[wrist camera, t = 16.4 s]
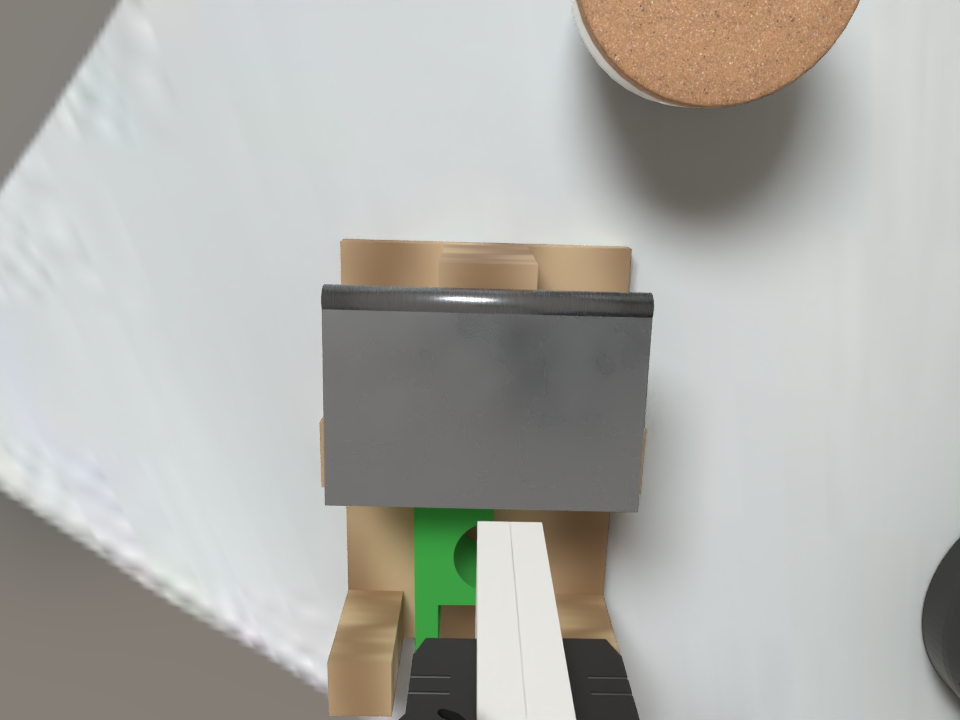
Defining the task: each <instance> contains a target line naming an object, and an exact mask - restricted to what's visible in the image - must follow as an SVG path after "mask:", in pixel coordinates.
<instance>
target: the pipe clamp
mask: <svg viewBox="0 0 960 720" xmlns="http://www.w3.org/2000/svg"><path fill="white" fill-rule="evenodd" d="M493 515H494V509H470V508H425V507H414V581H415V652H416V650H417V649H418V648H419V646H420V645H421V644H422V642H423V641H424V640H425V638H439V634H440V620H441V606H442V605H476V569H477V542H475V541H473V540H471V539H469V538H468V537H467V536H466V535H465V534H464V533H465V532H466V531H468V530H469V529H471V528H472V527H474V526H476V525H477V523H478V521H492V522H493Z"/></svg>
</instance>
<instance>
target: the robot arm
mask: <svg viewBox="0 0 960 720" xmlns="http://www.w3.org/2000/svg"><path fill="white" fill-rule="evenodd" d="M923 636H924V641H925V646H926V649H927V652H928V655H929V658H930V660H931V662H932V664H933V666H934V668H935V669H936V671H937V672H938V674H939V675H940V676H941V678H942V679H943V680H944V681H945V682H946V683H947V685H948V686H949V687H950V688H951V689H952V690H953V691H954V692H955V694H956V695H957V696H958V697H959V698H960V539H959V540H958V541H957V542H956V543H955V544H954V546H953V547H952V548H951V549H950V550H949V552H948V553H947V555H946V556H945V557H944V559H943V560H942V562H941V564H940V565H939V567H938V569H937V571H936V573H935V575H934V577H933V579H932V581H931V584H930V587H929V589H928V592H927V596H926V600H925V605H924V610H923ZM399 720H639V716H638V713H637V709H636V706H635V702H634V699H633V696H632V692H631V688H630V685H629V681H628V680H627V674H626V671H625V667H624V664H623V660H622V657H621V655H620V654H619V653H618V652H617V651H616V650H615V649H614V647H613V646H612V645H611V644H610V643H609V642H608V641H607V640H606V639H583V638H562V635H561V630H560V624H559V618H558V612H557V607H556V601H555V595H554V589H553V584H552V578H551V572H550V566H549V560H548V555H547V549H546V543H545V537H544V532H543V526H542V522H492V521H478V523H477V569H476V615H475V639H469V638H425V640H424V641H423V642H422V644H421V645H420V646H419V648H418V649H417V650H416V652H415V653H414V654H413V660H412V667H411V677H410V683H409V691H408V698H407V706H406V713H405V714H404V715H403V716H402V717H401V718H400V719H399Z"/></svg>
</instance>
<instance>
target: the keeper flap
mask: <svg viewBox="0 0 960 720" xmlns="http://www.w3.org/2000/svg"><path fill="white" fill-rule="evenodd" d="M321 306H322V345H323V409H324V473H325V505H336V506H381V507H425V508H470V509H514V510H558V511H603V512H638V504H639V491H640V478H641V464H642V451H643V437H644V424H645V410H646V397H647V384H648V370H649V357H650V343H651V330H652V318H653V311H654V300H653V295H652V293H636V292H598V291H560V290H522V289H484V288H446V287H409V286H371V285H333V284H324V285H323V288H322V295H321Z"/></svg>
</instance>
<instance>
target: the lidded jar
mask: <svg viewBox="0 0 960 720" xmlns="http://www.w3.org/2000/svg"><path fill="white" fill-rule="evenodd" d="M859 1H860V0H571V7H572V12H573V15H574V18H575V22H576V25H577V28H578V31H579V33H580V35H581V37H582V39H583V41H584V43H585V45H586V47H587V49H588V51H589V52H590V53H591V55H592V56H593V58H594V59H595V61H596V62H597V63H598V65H599V66H600V67H601V68H602V69H603V70H604V71H605V72H606V73H607V74H608V75H609V76H610V77H611V78H612V79H613V80H615V81H616V82H617V83H619V84H620V85H621V86H623V87H624V88H625V89H627V90H629V91H631V92H633V93H635V94H637V95H639V96H641V97H643V98H645V99H648V100H651V101H654V102H658V103H661V104H664V105H669V106H677V107H685V108H688V107H692V108H700V109H704V108H725V107H730V106H735V105H739V104H744V103H749V102H752V101H755V100H757V99H760V98H763V97H765V96H768V95H771V94H773V93H775V92H777V91H778V90H780V89H782V88H784V87H785V86H787V85H789V84H791V83H793V82H794V81H795V80H797V79H798V78H799V77H800V76H802V75H803V74H804V73H806V72H807V71H808V70H809V69H811V68H812V67H813V66H814V65H815V64H816V63H817V62H818V61H819V60H820V59H821V58H822V57H823V56H824V55H825V54H826V53H827V52H828V51H829V50H830V49H831V47H832V46H833V44H834V43H835V42H836V40H837V39H838V38H839V36H840V35H841V34H842V32H843V31H844V29H845V28H846V26H847V24H848V22H849V21H850V19H851V17H852V15H853V13H854V11H855V10H856V8H857V6H858V3H859Z"/></svg>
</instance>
